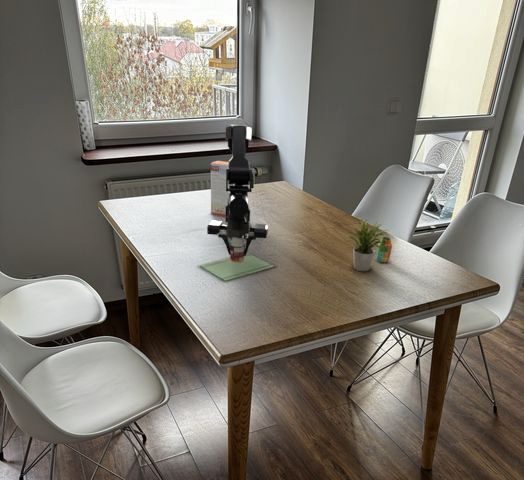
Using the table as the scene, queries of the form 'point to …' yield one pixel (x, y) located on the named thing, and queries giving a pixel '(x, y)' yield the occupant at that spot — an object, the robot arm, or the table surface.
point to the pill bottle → (237, 250)
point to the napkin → (236, 267)
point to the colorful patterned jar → (384, 250)
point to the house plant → (365, 246)
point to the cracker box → (219, 188)
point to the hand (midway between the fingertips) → (237, 254)
